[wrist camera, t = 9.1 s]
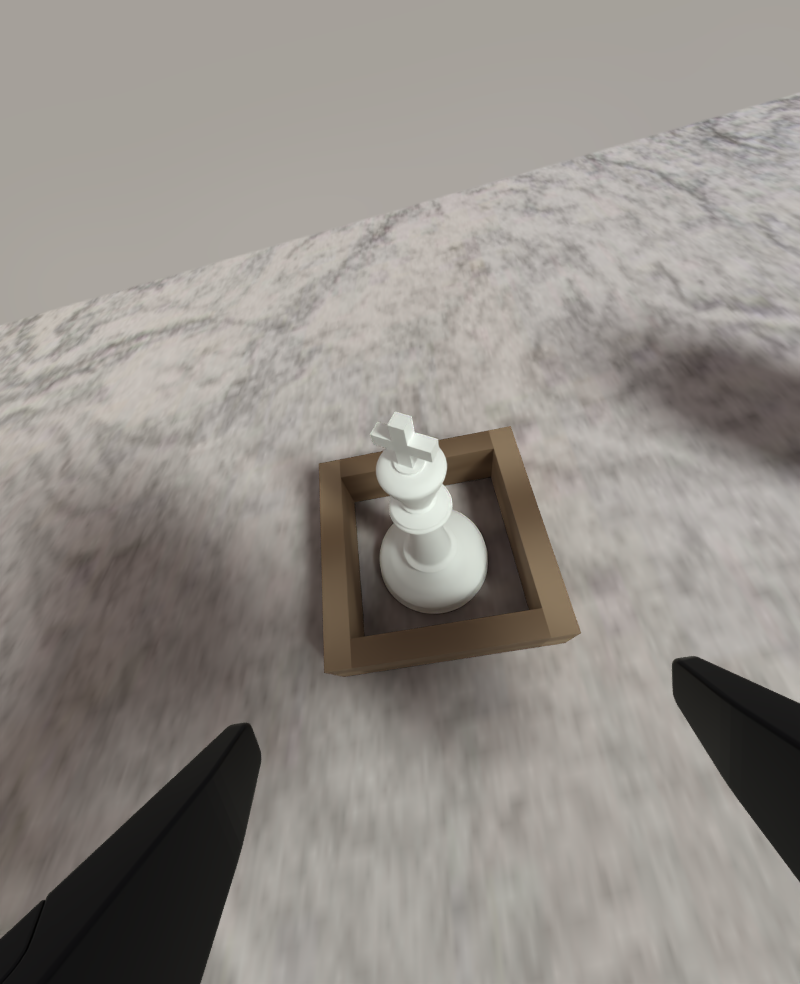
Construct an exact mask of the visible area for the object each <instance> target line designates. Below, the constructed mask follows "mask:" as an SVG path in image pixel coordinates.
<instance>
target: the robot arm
mask: <svg viewBox="0 0 800 984" xmlns="http://www.w3.org/2000/svg"><path fill="white" fill-rule="evenodd" d="M672 687H673V695H674V699H675V701H676V703H677V705H678V707H679V708H680V710H681V712H682V713H683V715H684V716H685V718H686V720H687V721H688V723H689V724H690V726H691V728H692V729H693V731H694V732H695V734H696V736H697V737H698V739H699V740H700V742H701V744H702V745H703V747H704V748H705V750H706V752H707V753H708V755H709V756H710V758H711V760H712V761H713V763H714V764H715V766H716V768H717V769H718V771H719V772H720V774H721V775H722V777H723V779H724V780H725V782H726V783H727V785H728V786H729V788H730V789H731V790H732V792H733V793H734V795H735V796H736V797H737V799H738V800H739V802H740V803H741V804H742V806H743V807H744V808H745V810H746V811H747V812H748V814H749V815H750V816H751V818H752V819H753V820H754V822H755V823H756V824H757V826H758V827H759V828H760V830H761V831H762V832H763V834H764V835H765V836H766V838H767V839H768V840H769V842H770V843H771V844H772V846H773V847H774V848H775V850H776V851H777V852H778V854H779V855H780V856H781V858H782V859H783V860H784V862H785V863H786V864H787V866H788V867H789V868H790V870H791V871H792V872H793V874H794V875H795V876H796V878H797V879H798V880H799V882H800V703H798V702H796V701H793V700H791V699H789V698H787V697H785V696H782V695H780V694H778V693H776V692H774V691H771V690H769V689H767V688H765V687H763V686H761V685H758V684H756V683H754V682H752V681H750V680H747V679H745V678H743V677H741V676H739V675H736V674H734V673H732V672H730V671H728V670H725V669H723V668H721V667H719V666H717V665H714V664H712V663H710V662H708V661H706V660H703V659H701V658H699V657H696V656H689V657H683V658H677V659H675V660H673V662H672ZM260 765H261V751H260V748H259V745H258V742H257V740H256V737H255V734H254V732H253V729H252V727H251V725H250V724H249V723H240V724H233V725H230V726H229V727H227V728H226V729H225V730H224V731H223V732H222V733H221V734H220V735H219V736H218V737H217V738H215V739H214V740H213V741H212V742H211V743H210V744H209V745H208V746H207V747H206V748H205V749H204V750H203V751H202V752H200V753H199V754H198V755H197V756H196V757H195V758H194V759H193V760H192V761H191V762H190V763H189V764H188V765H187V766H185V767H184V768H183V769H182V770H181V771H180V772H179V773H178V774H177V775H176V776H175V777H174V778H173V779H172V780H170V781H169V782H168V783H167V784H166V785H165V786H164V787H163V788H162V789H161V790H160V791H159V792H158V793H157V794H155V795H154V796H153V797H152V798H151V799H150V800H149V801H148V802H147V803H146V804H145V805H144V806H143V807H142V808H140V809H139V810H138V811H137V812H136V813H135V814H134V815H133V816H132V817H131V818H130V819H129V820H128V821H127V822H125V823H124V824H123V825H122V826H121V827H120V828H119V829H118V830H117V831H116V832H115V833H114V834H113V835H112V836H110V837H109V838H108V839H107V840H106V841H105V842H104V843H103V844H102V845H101V846H100V847H99V848H98V849H97V850H95V851H94V852H93V853H92V854H91V855H90V856H89V857H88V858H87V859H86V860H85V861H84V862H83V863H82V864H80V865H79V866H78V867H77V868H76V869H75V870H74V871H73V872H72V873H71V874H70V875H69V876H68V877H67V878H65V879H64V880H63V881H62V882H61V883H60V884H59V885H58V886H57V887H56V888H55V889H54V890H53V891H52V892H50V893H49V894H48V896H47V898H46V900H42V901H41V902H40V903H39V904H37V905H36V906H35V907H34V908H33V909H32V910H31V911H30V912H29V913H28V914H27V915H26V916H25V917H24V918H23V919H21V920H20V921H19V922H18V923H17V924H16V925H15V926H14V927H13V928H12V929H11V930H10V931H8V932H7V933H6V934H5V935H4V936H3V937H2V938H1V939H0V984H200V983H201V980H202V977H203V973H204V970H205V967H206V964H207V960H208V957H209V954H210V951H211V947H212V944H213V941H214V938H215V934H216V931H217V928H218V925H219V922H220V918H221V915H222V912H223V909H224V905H225V902H226V899H227V896H228V892H229V889H230V886H231V883H232V879H233V876H234V873H235V870H236V866H237V863H238V860H239V856H240V853H241V849H242V845H243V841H244V837H245V833H246V829H247V824H248V819H249V815H250V810H251V806H252V801H253V797H254V792H255V788H256V783H257V778H258V774H259V769H260Z"/></svg>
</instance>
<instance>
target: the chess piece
mask: <svg viewBox="0 0 800 984" xmlns="http://www.w3.org/2000/svg"><path fill="white" fill-rule="evenodd" d="M370 436H371V439H372V442H373V444H374V445H377V446H380V447H383V448H386V449H385V450H384V451H383V452H382V453H381V455H380V457H379V459H378V461H377V465H376V476H377V480H378V482H379V484H380V486H381V487H382V489H383V490H384V491H385V492H386V493H387V494H389V495H390V496H391V497H390V501H389V514H390V517H391V519H392V521H393V522H394V523H393V524H392V525H391V527H390V528H389V529H388V531H387V533H386V534H385V536H384V538H383V541H382V544H381V548H380V555H379V561H380V569H381V574H382V577H383V580H384V583H385V585H386V587H387V588H388V590H389V591H390V593H391V594H392V595H393V596H394V597H395V598H396V599H397V600H398V601H399V602H400V603H402V604H403V605H404V606H406V607H408V608H410V609H412V610H415V611H418V612H422V613H428V614H439V613H446V612H449V611H453V610H455V609H457V608H459V607H461V606H463V605H465V604H466V603H467V602H469V601H470V600H471V599H472V598H473V597H474V596H475V595H476V594H477V592H478V591H479V590H480V588H481V586H482V585H483V583H484V580H485V578H486V574H487V570H488V553H487V548H486V545H485V542H484V539H483V537H482V534H481V533H480V531H479V529H478V528H477V527H476V525H475V524H474V523H473V522H472V521H471V520H470V519H469V518H467V517H466V516H465V515H463V514H462V513H460V512H458V511H456V510H453V509H452V498H451V495H450V493H449V491H448V489H447V488H446V487H445V486H444V485H443V484H442V483H443V481H444V479H445V476H446V472H447V462H446V458H445V455H444V453H443V452H442V450H441V449H440V448H439V444H438V439H436V438H433V437H429V436H426V435H422V434H419V433H415V431H414V426H413V421H412V416H409V415H406V414H402V413H398V412H395V413H394V414H393V416H392V418H391V420H390V421H389V423H388V424H384V423H381V422H377V423H376V425H375V427H374V428H373V430H372V432H371V434H370Z"/></svg>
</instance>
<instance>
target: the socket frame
mask: <svg viewBox="0 0 800 984" xmlns="http://www.w3.org/2000/svg"><path fill="white" fill-rule="evenodd" d="M438 444H439V448H440V449H441V450H442V452H443V453H444V455H445V458H446V462H447V472H446V476H445V479H444V481H443V483H442V484H443V485H444V486H445V485H450V484H456V483H461V482H466V481H472V480H477V479H482V478H488V477H491V479H492V482H493V486H494V489H495V493H496V496H497V500H498V503H499V507H500V510H501V514H502V517H503V521H504V524H505V528H506V531H507V535H508V538H509V542H510V545H511V549H512V552H513V556H514V559H515V563H516V566H517V570H518V573H519V577H520V580H521V584H522V587H523V591H524V594H525V598H526V601H527V605H528V608H529V610H527V611H520V612H514V613H508V614H502V615H495V616H489V617H483V618H477V619H471V620H464V621H458V622H452V623H446V624H439V625H433V626H427V627H421V628H414V629H408V630H402V631H396V632H389V633H383V634H377V635H371V636H365V633H364V620H363V607H362V594H361V581H360V568H359V554H358V541H357V528H356V515H355V502H359V501H364V500H370V499H375V498H381V497H386V496H390V495H389V494H387V493H386V492H385V491H384V490H383V489H382V487H381V486H380V484H379V482H378V480H377V476H376V465H377V461H378V459H379V457H380V455H381V453H382V452H383V451H381V452H376V453H371V454H366V455H361V456H356V457H351V458H345V459H340V460H335V461H330V462H325V463H320V464H319V488H320V526H321V565H322V603H323V641H324V673H328V674H333V675H338V676H343V677H346V676H352V675H359V674H365V673H372V672H378V671H385V670H391V669H398V668H404V667H411V666H417V665H424V664H431V663H437V662H444V661H450V660H457V659H463V658H470V657H476V656H483V655H489V654H496V653H502V652H509V651H515V650H522V649H528V648H535V647H541V646H548V645H555V644H561V643H566V642H567V641H569V640H571V639H572V638H574V637H575V636H577V635H579V634H580V633H581V631H580V628H579V625H578V623H577V620H576V617H575V614H574V611H573V608H572V605H571V602H570V599H569V596H568V593H567V590H566V587H565V584H564V582H563V579H562V576H561V573H560V570H559V567H558V564H557V561H556V558H555V555H554V552H553V549H552V546H551V543H550V540H549V538H548V535H547V532H546V529H545V526H544V523H543V520H542V517H541V514H540V511H539V508H538V505H537V502H536V499H535V496H534V494H533V491H532V488H531V485H530V482H529V479H528V476H527V473H526V470H525V467H524V464H523V461H522V458H521V455H520V453H519V450H518V447H517V444H516V441H515V438H514V435H513V432H512V429H511V426H509V427H504V428H499V429H494V430H489V431H484V432H478V433H473V434H468V435H463V436H458V437H453V438H448V439H443V440H438Z"/></svg>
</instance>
